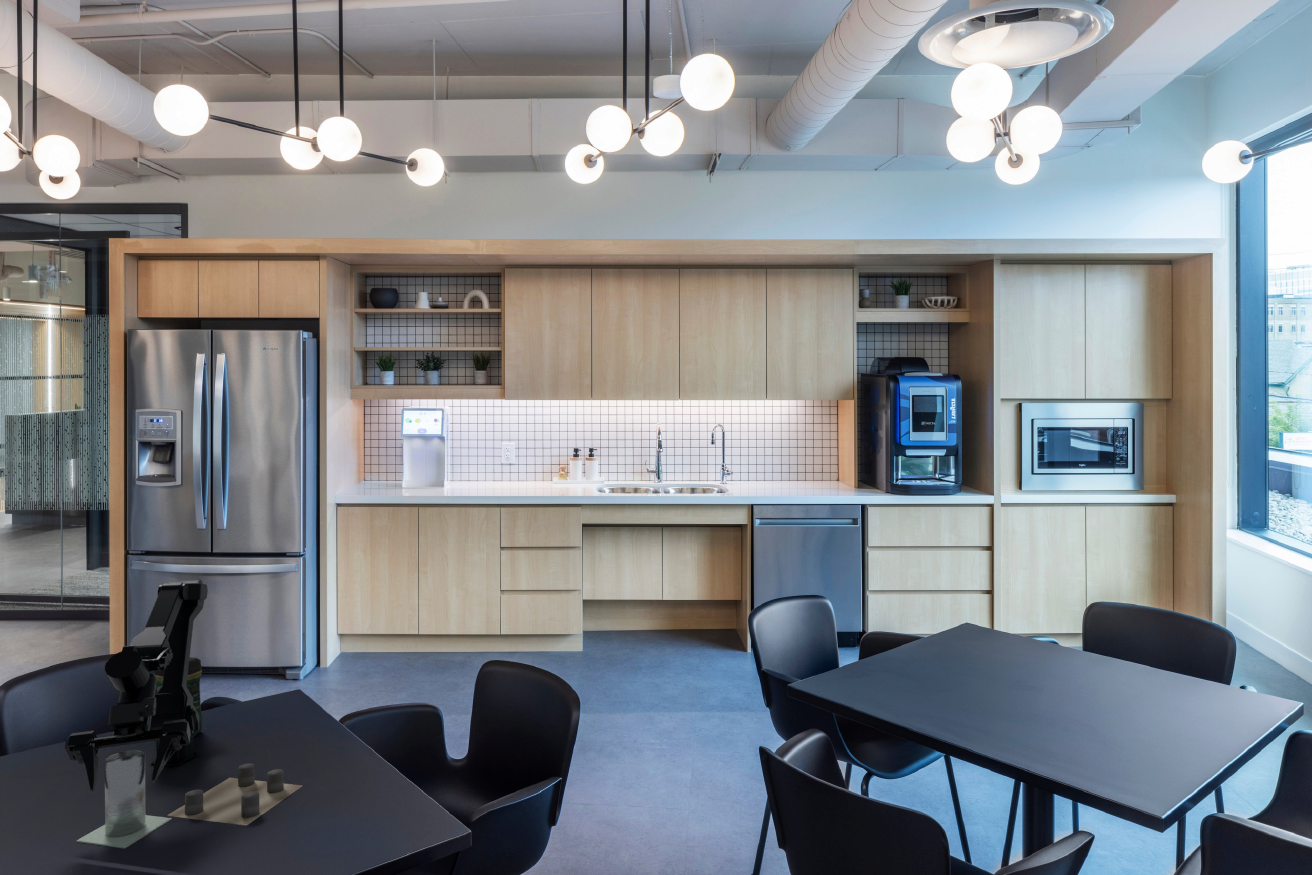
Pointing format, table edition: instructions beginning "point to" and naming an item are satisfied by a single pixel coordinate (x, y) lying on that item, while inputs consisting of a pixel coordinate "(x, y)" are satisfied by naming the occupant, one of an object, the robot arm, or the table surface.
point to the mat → (237, 798)
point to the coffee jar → (189, 686)
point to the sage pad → (123, 842)
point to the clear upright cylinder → (124, 793)
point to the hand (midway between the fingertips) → (123, 785)
